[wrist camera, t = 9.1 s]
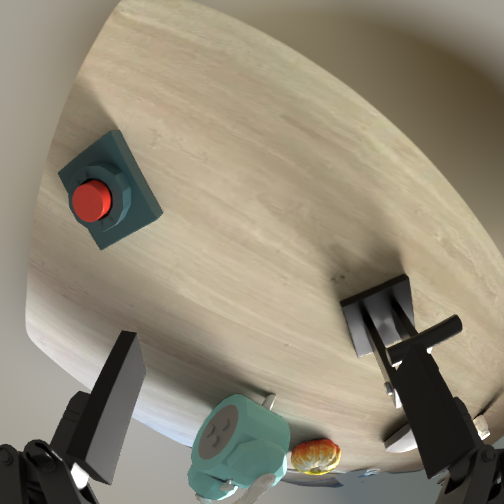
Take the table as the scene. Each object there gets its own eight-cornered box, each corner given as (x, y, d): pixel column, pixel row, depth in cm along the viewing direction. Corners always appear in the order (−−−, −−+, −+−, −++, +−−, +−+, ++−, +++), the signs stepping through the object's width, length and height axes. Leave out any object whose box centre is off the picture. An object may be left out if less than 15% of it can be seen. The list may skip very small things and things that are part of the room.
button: (75, 191, 24) (66, 196, 22) (100, 173, 23) (91, 176, 22) (92, 221, 25) (84, 228, 24) (118, 205, 24) (110, 211, 23)
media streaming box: (377, 445, 52) (380, 454, 50) (418, 412, 46) (422, 422, 44) (414, 442, 55) (417, 450, 52) (452, 411, 49) (456, 420, 46)
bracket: (339, 301, 33) (371, 383, 22) (405, 273, 32) (457, 341, 20) (355, 352, 37) (380, 425, 25) (412, 327, 35) (449, 393, 24)
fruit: (351, 440, 49) (350, 473, 43) (318, 447, 55) (315, 477, 49) (315, 434, 46) (311, 471, 40) (282, 440, 53) (277, 472, 47)
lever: (383, 340, 18) (394, 369, 16) (453, 305, 17) (467, 332, 15) (382, 382, 27) (388, 401, 25) (429, 360, 26) (437, 378, 24)
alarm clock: (232, 431, 47) (227, 524, 28) (189, 413, 44) (172, 513, 26) (298, 391, 41) (312, 508, 23) (251, 368, 38) (249, 502, 20)
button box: (68, 168, 26) (47, 176, 23) (119, 129, 25) (101, 132, 21) (109, 242, 30) (93, 258, 26) (163, 212, 29) (151, 226, 25)
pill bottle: (469, 424, 55) (477, 442, 48) (473, 418, 53) (482, 436, 46) (479, 419, 55) (488, 436, 48) (484, 412, 53) (493, 430, 46)
